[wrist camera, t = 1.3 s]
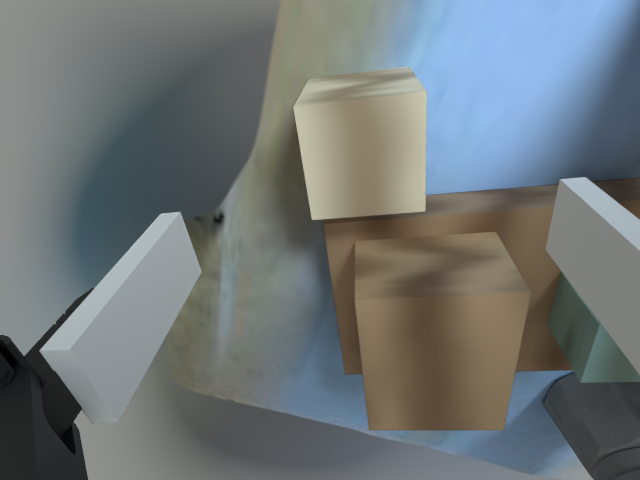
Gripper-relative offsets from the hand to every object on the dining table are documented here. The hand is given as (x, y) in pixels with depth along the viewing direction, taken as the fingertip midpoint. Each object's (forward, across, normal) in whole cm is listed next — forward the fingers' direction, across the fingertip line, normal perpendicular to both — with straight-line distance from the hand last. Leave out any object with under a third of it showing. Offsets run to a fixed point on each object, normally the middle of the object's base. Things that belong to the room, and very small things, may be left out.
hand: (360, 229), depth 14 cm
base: (+13, +8, -13) cm, 20 cm away
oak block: (+13, 0, 0) cm, 13 cm away
